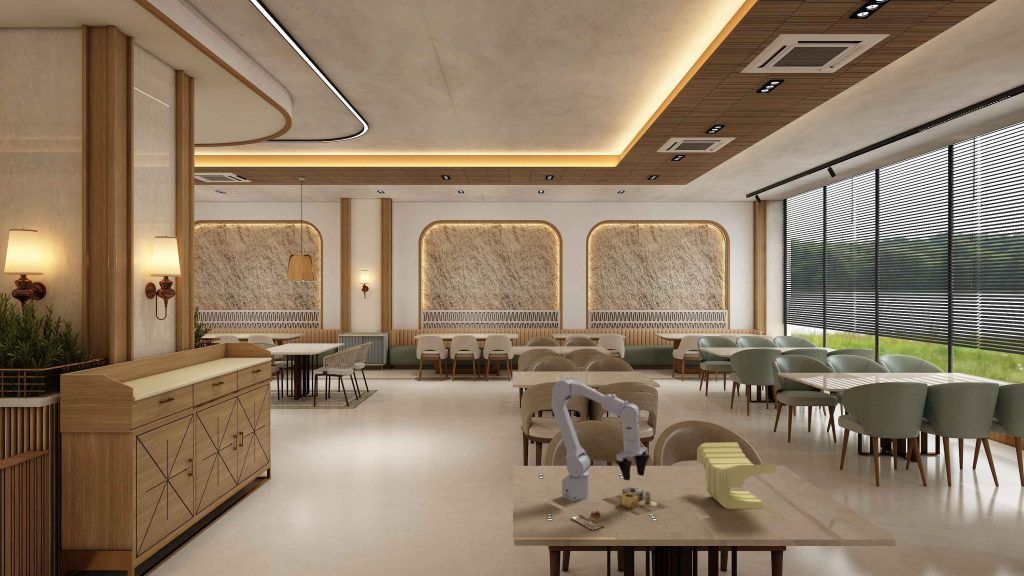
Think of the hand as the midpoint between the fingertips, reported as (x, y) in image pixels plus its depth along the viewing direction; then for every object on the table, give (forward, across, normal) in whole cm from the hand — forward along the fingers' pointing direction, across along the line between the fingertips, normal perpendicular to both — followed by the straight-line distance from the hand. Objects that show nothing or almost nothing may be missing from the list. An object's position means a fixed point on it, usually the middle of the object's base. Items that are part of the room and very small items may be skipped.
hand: (633, 477), depth 211 cm
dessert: (+11, -20, 0) cm, 23 cm away
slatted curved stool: (+13, +33, -18) cm, 40 cm away
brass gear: (+10, -2, +1) cm, 10 cm away
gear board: (+11, +1, +2) cm, 11 cm away
